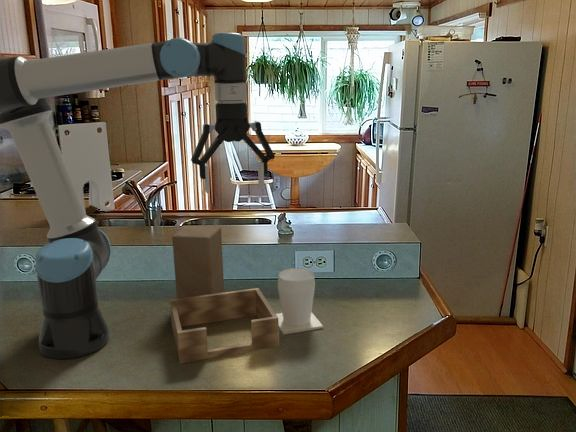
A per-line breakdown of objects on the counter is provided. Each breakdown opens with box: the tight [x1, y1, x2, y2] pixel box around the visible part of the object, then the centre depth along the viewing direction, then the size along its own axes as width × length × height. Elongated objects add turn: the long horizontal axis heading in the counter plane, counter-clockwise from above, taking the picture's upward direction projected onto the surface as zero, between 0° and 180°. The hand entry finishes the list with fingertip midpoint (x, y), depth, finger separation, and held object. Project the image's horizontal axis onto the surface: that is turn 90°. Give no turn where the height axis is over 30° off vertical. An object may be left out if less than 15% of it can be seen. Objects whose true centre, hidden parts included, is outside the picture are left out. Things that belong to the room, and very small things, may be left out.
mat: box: [275, 311, 324, 335], centre depth 129 cm, size 10×10×1 cm
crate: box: [169, 287, 280, 364], centre depth 122 cm, size 22×18×7 cm
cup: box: [277, 267, 316, 326], centre depth 127 cm, size 9×9×12 cm
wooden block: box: [171, 225, 225, 299], centre depth 139 cm, size 10×10×20 cm
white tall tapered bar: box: [57, 121, 116, 214], centre depth 235 cm, size 20×14×40 cm
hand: (234, 189), depth 130 cm, fingers open, 13 cm apart
